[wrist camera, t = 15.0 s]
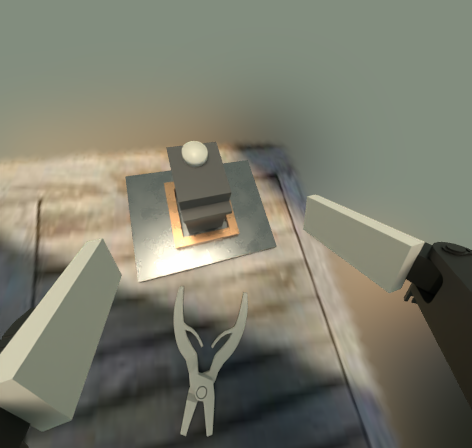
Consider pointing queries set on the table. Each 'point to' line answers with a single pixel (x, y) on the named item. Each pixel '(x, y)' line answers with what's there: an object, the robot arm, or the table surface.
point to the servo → (200, 185)
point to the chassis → (175, 231)
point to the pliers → (199, 381)
